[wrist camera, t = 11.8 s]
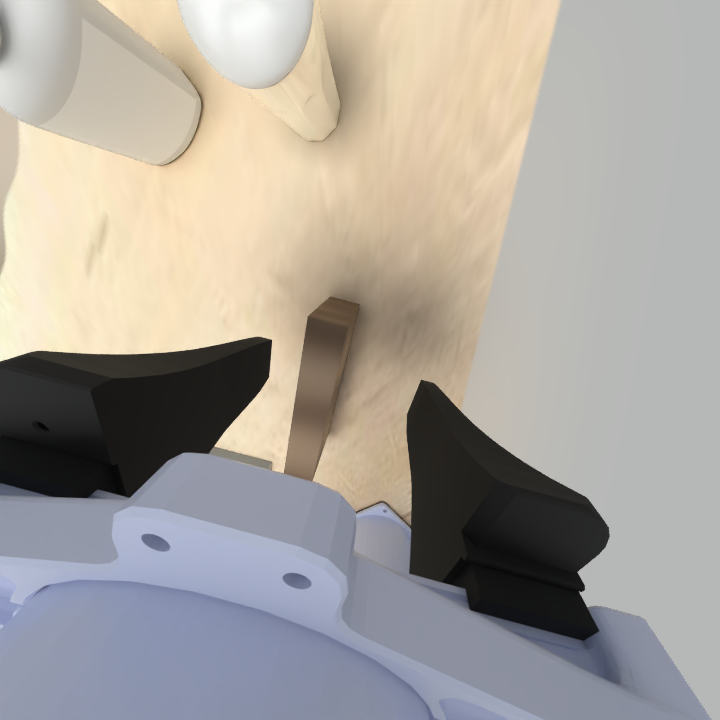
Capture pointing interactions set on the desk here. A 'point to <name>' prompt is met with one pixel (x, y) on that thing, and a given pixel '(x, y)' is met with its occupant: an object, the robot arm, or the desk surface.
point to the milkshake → (270, 56)
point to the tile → (241, 458)
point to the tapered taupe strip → (319, 383)
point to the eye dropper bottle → (93, 80)
